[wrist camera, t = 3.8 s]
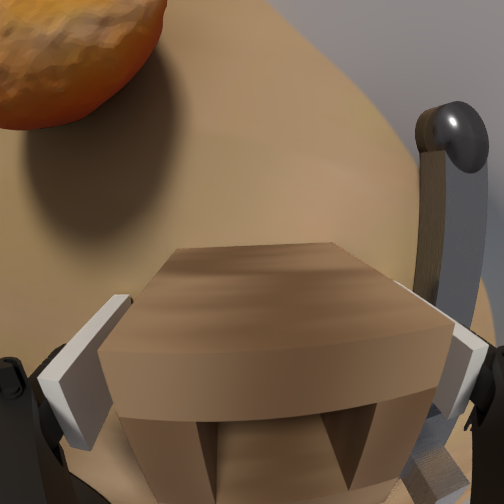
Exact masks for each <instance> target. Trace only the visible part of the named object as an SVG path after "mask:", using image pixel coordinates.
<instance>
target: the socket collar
mask: <svg viewBox="0 0 504 504" xmlns="http://www.w3.org/2000/svg"><path fill="white" fill-rule="evenodd" d="M454 327H455V323H454V322H453V321H452V320H450V319H449V318H447V317H446V316H444V315H443V314H442V313H440V312H439V311H437V310H436V309H434V308H433V307H431V306H430V305H428V304H427V303H426V302H424V301H423V300H421V299H420V298H418V297H417V296H415V295H414V294H412V293H411V292H409V291H408V290H406V289H405V288H403V287H402V286H400V285H399V284H397V283H396V282H394V281H393V280H391V279H389V278H388V277H386V276H385V275H383V274H382V273H380V272H379V271H377V270H376V269H374V268H372V267H371V266H369V265H368V264H366V263H365V262H363V261H361V260H360V259H358V258H357V257H355V256H353V255H352V254H350V253H349V252H347V251H345V250H344V249H342V248H341V247H339V246H337V245H336V244H334V243H309V244H284V245H259V246H235V247H212V248H190V249H177V250H176V251H175V252H174V253H173V254H172V256H171V257H170V258H169V259H168V260H167V262H166V263H165V264H164V265H163V266H162V268H161V269H160V270H159V271H158V273H157V274H156V275H155V276H154V277H153V279H152V280H151V281H150V282H149V284H148V285H147V286H146V287H145V289H144V290H143V291H142V292H141V294H140V295H139V296H138V297H137V299H136V300H135V301H134V303H133V304H132V305H131V306H130V308H129V309H128V310H127V312H126V313H125V314H124V315H123V317H122V318H121V319H120V321H119V322H118V323H117V325H116V326H115V327H114V329H113V330H112V331H111V333H110V334H109V335H108V337H107V338H106V339H105V341H104V342H103V343H102V345H101V346H100V347H99V349H98V350H97V352H98V356H99V359H100V363H101V366H102V370H103V373H104V376H105V379H106V382H107V385H108V389H109V392H110V394H111V397H112V400H113V403H114V406H115V409H116V411H117V414H118V417H119V419H120V422H121V425H122V427H123V430H124V432H125V435H126V437H127V439H128V442H129V444H130V446H131V449H132V451H133V453H134V455H135V458H136V460H137V462H138V464H139V466H140V468H141V471H142V473H143V475H144V477H145V479H146V481H147V483H148V485H149V487H150V489H151V490H152V492H153V494H154V496H155V498H156V500H157V502H158V503H159V504H379V503H382V502H385V501H386V499H387V497H388V495H389V494H390V492H391V490H392V488H393V487H394V485H395V483H396V481H397V479H398V478H399V476H400V474H401V472H402V470H403V468H404V466H405V464H406V462H407V460H408V458H409V456H410V454H411V452H412V450H413V447H414V445H415V443H416V441H417V439H418V436H419V434H420V432H421V429H422V427H423V424H424V422H425V420H426V417H427V415H428V412H429V409H430V407H431V404H432V401H433V399H434V396H435V393H436V390H437V387H438V384H439V381H440V378H441V375H442V372H443V368H444V365H445V361H446V358H447V354H448V351H449V347H450V343H451V339H452V335H453V331H454Z"/></svg>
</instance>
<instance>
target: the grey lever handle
mask: <svg viewBox="0 0 504 504" xmlns="http://www.w3.org/2000/svg"><path fill="white" fill-rule="evenodd" d="M415 139H416V144H417V148H418V151H419V154H420V218H419V237H418V251H417V262H416V272H415V281H414V289H413V292H414V293H415V294H417V295H418V296H420V297H421V298H423V299H424V300H426V301H427V302H429V303H430V304H432V305H433V306H435V307H436V308H438V309H439V310H440V311H442V312H443V313H445V314H446V315H448V316H449V317H451V318H452V319H453V320H455V321H457V322H459V323H462V324H463V325H465V326H466V327H468V328H469V329H470V326H471V322H472V318H473V313H474V309H475V304H476V299H477V293H478V288H479V282H480V276H481V269H482V262H483V254H484V245H485V234H486V221H487V198H488V173H487V172H488V171H487V157H488V152H489V140H488V134H487V131H486V128H485V125H484V123H483V121H482V119H481V117H480V116H479V114H478V113H477V112H476V111H475V109H473V108H472V107H471V106H470V105H468V104H467V103H464V102H460V101H455V102H451V103H448V104H444V105H441V106H438V107H435V108H431V109H428V110H426V111H424V112H423V113H422V114H421V115H420V117H419V118H418V120H417V123H416V128H415ZM458 417H459V415H458V416H456V417H454V418H451V419H449V420H447V419H446V417H445V416H444V415H443V414H442V413H441V411H440V410H439V409H438V408H437V407H436V405H435V404H434V403H433V402H432V404H431V407H430V409H429V412H428V415H427V417H426V420H425V422H424V424H423V427H422V429H421V432H420V434H419V436H418V439H417V441H416V443H415V445H414V447H413V450H412V452H411V454H410V456H409V458H408V460H407V462H406V464H405V466H404V468H403V470H402V472H401V474H400V476H399V478H398V479H402V481H403V483H404V485H405V487H406V488H407V490H408V492H409V494H410V496H411V498H412V500H413V502H414V504H454V503H455V502H456V501H457V500H458V498H459V497H460V496H461V495H462V493H463V492H464V491H465V490H466V488H467V487H468V486H469V484H470V482H469V481H468V479H467V478H466V476H465V475H464V474H463V472H462V471H461V469H460V468H459V467H458V465H457V464H456V462H455V461H454V460H453V458H452V457H451V455H450V454H449V453H448V451H447V450H446V448H445V447H444V446H445V444H446V442H447V440H448V438H449V436H450V434H451V432H452V430H453V428H454V426H455V423H456V421H457V419H458ZM398 479H397V480H398Z"/></svg>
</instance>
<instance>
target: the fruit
mask: <svg viewBox="0 0 504 504" xmlns="http://www.w3.org/2000/svg"><path fill="white" fill-rule="evenodd" d="M166 6H167V0H0V128H2V129H10V130H31V129H38V128H40V129H42V128H48V127H55V126H59V125H63V124H67V123H71V122H75V121H77V120H80V119H82V118H84V117H86V116H87V115H88V114H90V113H91V112H93V111H94V110H95V109H97V108H98V107H99V106H101V105H102V104H103V103H104V102H106V101H107V100H108V99H109V98H111V97H112V96H113V95H115V94H116V93H117V92H118V91H120V90H121V89H122V88H123V87H124V86H125V85H126V84H127V83H128V82H129V81H130V80H131V79H132V78H133V77H134V76H135V75H136V73H137V72H138V71H139V70H140V69H141V67H142V66H143V65H144V63H145V62H146V60H147V59H148V57H149V56H150V54H151V53H152V51H153V50H154V48H155V46H156V45H157V43H158V40H159V38H160V35H161V32H162V27H163V15H164V11H165V9H166Z"/></svg>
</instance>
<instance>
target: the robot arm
mask: <svg viewBox="0 0 504 504" xmlns="http://www.w3.org/2000/svg"><path fill="white" fill-rule="evenodd" d="M394 282H396V283H397V284H399V285H400V286H402V287H403V288H405V289H406V290H408V291H409V292H411V293H412V294H414V295H415V296H417V297H418V298H420V299H421V300H423V301H424V302H426V303H427V304H428V305H430V306H431V307H433V308H434V309H436V310H437V311H439V312H440V313H442V314H443V315H444V316H446V317H447V318H449V319H450V320H452V321H453V322H454V323H455V327H454V331H453V335H452V339H451V343H450V347H449V351H448V354H447V358H446V361H445V365H444V368H443V372H442V375H441V378H440V381H439V384H438V387H437V390H436V393H435V396H434V399H433V401H432V402H433V403H434V404H435V405H436V407H437V408H438V409H439V410H440V411H441V413H442V414H443V415H444V416H445V417H446V419H447V420H449V419H451V418H454V417H456V416H458V415H461V414H463V413H464V411H465V409H466V407H467V404H468V402H469V400H471V401H472V402H473V403H474V404H475V405H474V407H473V410H472V412H471V414H470V416H469V418H468V420H467V422H466V424H465V426H464V431H466V430H467V428H468V426H469V425H470V424H472V427H471V429H470V431H472V486H471V499H470V504H504V346H500V347H498V348H495V347H494V346H493V345H491V344H490V343H489V342H487V341H486V340H484V339H483V338H482V337H480V336H479V335H476V333H475V332H473V331H472V330H471V331H470V329H469V328H468V327H466V326H465V325H463V324H462V323H459V322H457V321H455V320H453V319H452V318H451V317H449V316H448V315H446V314H445V313H443V312H442V311H440V310H439V309H438V308H436V307H435V306H433V305H432V304H430V303H429V302H427V301H426V300H424V299H423V298H421V297H420V296H418V295H417V294H415V293H414V292H412V291H411V290H409V289H408V288H406V287H405V286H403V285H402V284H400V283H398V282H397V281H394ZM130 306H131V299H130V294H125V295H113V296H112V297H111V298H110V299H109V300H108V301H107V302H106V303H105V305H104V306H103V307H102V308H101V309H100V310H99V311H98V312H97V313H96V314H95V315H94V316H93V317H92V318H91V319H90V320H89V321H88V322H87V323H86V324H85V325H84V326H83V327H82V328H81V329H80V331H79V332H78V333H77V334H76V335H75V336H74V337H73V338H72V339H71V340H70V341H69V342H68V343H67V344H63V345H61V346H60V347H58V348H56V349H55V350H54V351H53V352H52V353H51V354H50V355H49V356H48V358H46V359H45V360H44V361H43V362H42V364H41V365H40V366H39V367H38V368H37V369H36V370H35V371H34V372H33V373H32V374H31V376H30V377H29V378H27V376H26V373H25V371H24V368H23V366H22V363H21V361H20V360H19V359H18V358H15V357H4V358H1V359H0V504H109V503H108V502H107V501H106V500H105V499H104V498H102V497H101V496H100V495H99V494H98V493H96V492H95V491H94V490H92V489H91V488H90V487H88V486H87V485H86V484H84V483H83V482H81V481H80V480H79V479H77V478H76V477H74V476H73V475H71V474H70V473H69V470H68V466H67V462H66V459H65V455H64V451H63V449H62V447H61V445H60V443H59V441H60V440H61V438H62V436H63V434H64V436H65V438H66V440H67V441H68V443H69V445H70V447H73V448H78V449H82V450H87V451H91V450H92V447H93V445H94V443H95V441H96V439H97V436H98V434H99V432H100V430H101V428H102V425H103V423H104V421H105V419H106V417H107V415H108V413H109V411H110V408H111V406H112V404H113V400H112V397H111V394H110V392H109V389H108V385H107V382H106V379H105V376H104V373H103V370H102V366H101V363H100V359H99V356H98V352H97V350H98V349H99V347H100V346H101V345H102V343H103V342H104V341H105V339H106V338H107V337H108V335H109V334H110V333H111V331H112V330H113V329H114V327H115V326H116V325H117V323H118V322H119V321H120V319H121V318H122V317H123V315H124V314H125V313H126V312H127V310H128V309H129V308H130Z"/></svg>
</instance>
